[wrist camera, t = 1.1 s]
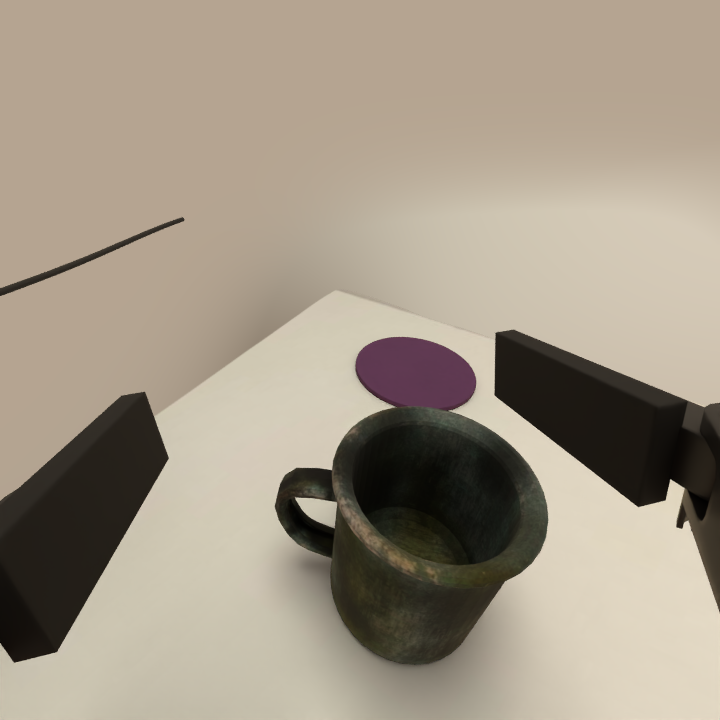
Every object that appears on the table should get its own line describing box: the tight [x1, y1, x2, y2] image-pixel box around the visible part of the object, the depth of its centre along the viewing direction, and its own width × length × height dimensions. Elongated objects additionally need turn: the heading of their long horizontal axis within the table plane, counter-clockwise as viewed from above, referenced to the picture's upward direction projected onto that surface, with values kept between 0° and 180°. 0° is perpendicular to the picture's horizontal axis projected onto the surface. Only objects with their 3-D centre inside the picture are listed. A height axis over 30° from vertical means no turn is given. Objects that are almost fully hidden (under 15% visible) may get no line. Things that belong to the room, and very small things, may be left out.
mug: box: [275, 406, 548, 665], centre depth 22 cm, size 11×15×12 cm
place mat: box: [356, 337, 476, 411], centre depth 47 cm, size 16×16×1 cm
